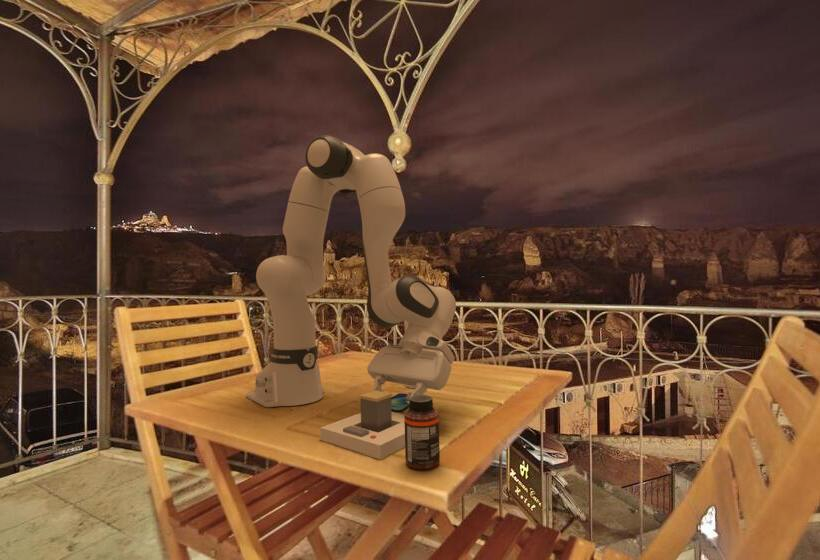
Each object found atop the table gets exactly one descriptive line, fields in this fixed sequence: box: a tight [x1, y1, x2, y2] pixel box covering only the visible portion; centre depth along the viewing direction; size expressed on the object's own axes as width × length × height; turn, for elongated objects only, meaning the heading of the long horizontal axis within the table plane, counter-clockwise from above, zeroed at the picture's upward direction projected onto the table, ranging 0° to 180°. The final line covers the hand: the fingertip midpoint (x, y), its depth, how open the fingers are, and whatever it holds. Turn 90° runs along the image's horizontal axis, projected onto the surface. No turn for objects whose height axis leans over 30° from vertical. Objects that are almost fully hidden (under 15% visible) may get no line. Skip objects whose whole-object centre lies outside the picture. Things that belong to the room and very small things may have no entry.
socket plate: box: [319, 412, 405, 460], centre depth 84 cm, size 16×16×3 cm
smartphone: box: [391, 392, 410, 414], centre depth 107 cm, size 8×1×15 cm
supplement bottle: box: [404, 394, 441, 471], centre depth 71 cm, size 6×6×11 cm
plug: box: [359, 390, 393, 433], centre depth 84 cm, size 5×5×8 cm
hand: (391, 399), depth 88 cm, fingers open, 8 cm apart
